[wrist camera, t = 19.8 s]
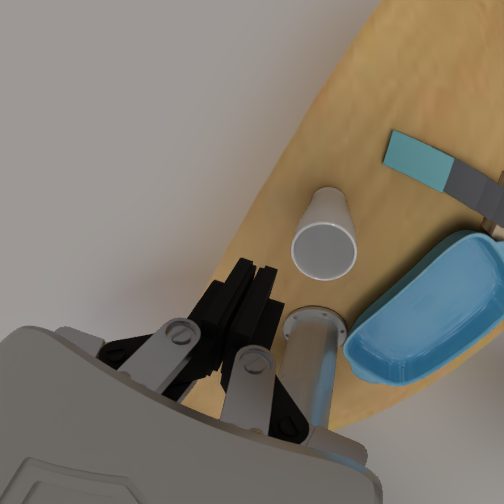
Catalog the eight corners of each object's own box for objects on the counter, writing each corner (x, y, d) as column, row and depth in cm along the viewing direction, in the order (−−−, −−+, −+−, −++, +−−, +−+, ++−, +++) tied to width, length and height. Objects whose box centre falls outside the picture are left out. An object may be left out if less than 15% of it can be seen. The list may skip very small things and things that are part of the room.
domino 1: (434, 147, 29) (487, 177, 24) (423, 178, 32) (475, 209, 26) (431, 146, 28) (487, 176, 23) (420, 178, 31) (474, 210, 25)
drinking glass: (342, 174, 36) (346, 212, 23) (357, 217, 38) (365, 273, 25) (299, 189, 39) (279, 232, 26) (315, 229, 41) (303, 288, 28)
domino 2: (454, 158, 28) (504, 188, 23) (444, 188, 31) (491, 220, 25) (452, 157, 28) (504, 188, 22) (441, 188, 30) (491, 221, 25)
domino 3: (468, 166, 28) (515, 196, 22) (457, 195, 31) (502, 227, 25) (466, 165, 27) (515, 196, 21) (455, 195, 30) (502, 228, 24)
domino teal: (394, 130, 30) (453, 158, 26) (385, 163, 33) (441, 191, 29) (393, 130, 29) (454, 158, 25) (382, 164, 32) (442, 193, 28)
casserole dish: (467, 189, 30) (488, 205, 24) (518, 270, 31) (534, 292, 25) (322, 327, 50) (318, 355, 45) (391, 372, 52) (392, 397, 46)
